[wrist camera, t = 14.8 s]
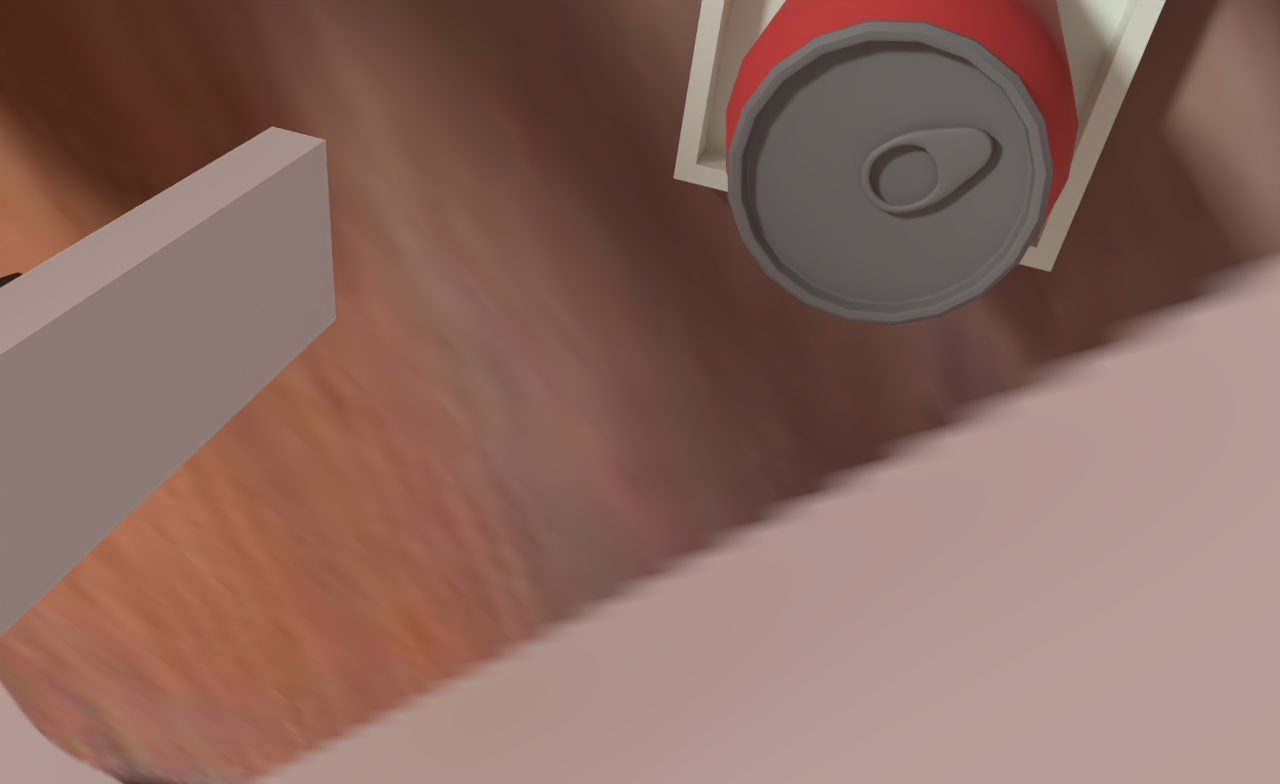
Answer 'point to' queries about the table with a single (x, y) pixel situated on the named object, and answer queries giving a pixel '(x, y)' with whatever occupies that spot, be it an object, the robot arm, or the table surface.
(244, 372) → the robot arm
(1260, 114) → the table surface
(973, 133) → the beer can
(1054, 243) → the tray
